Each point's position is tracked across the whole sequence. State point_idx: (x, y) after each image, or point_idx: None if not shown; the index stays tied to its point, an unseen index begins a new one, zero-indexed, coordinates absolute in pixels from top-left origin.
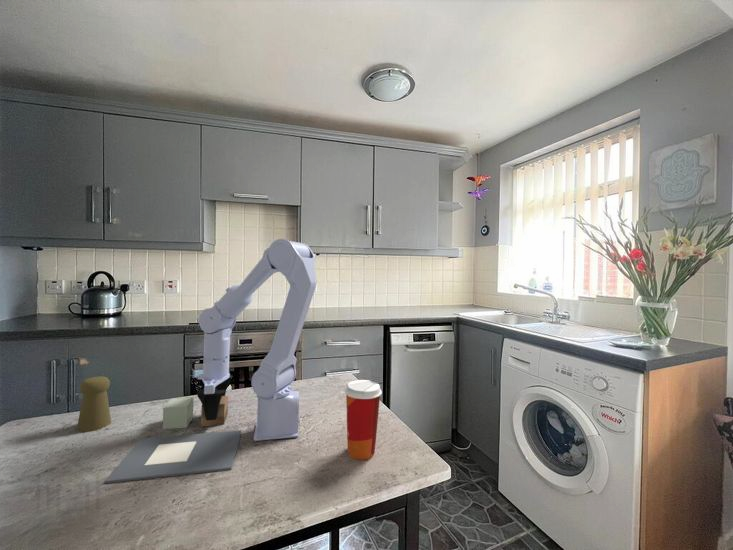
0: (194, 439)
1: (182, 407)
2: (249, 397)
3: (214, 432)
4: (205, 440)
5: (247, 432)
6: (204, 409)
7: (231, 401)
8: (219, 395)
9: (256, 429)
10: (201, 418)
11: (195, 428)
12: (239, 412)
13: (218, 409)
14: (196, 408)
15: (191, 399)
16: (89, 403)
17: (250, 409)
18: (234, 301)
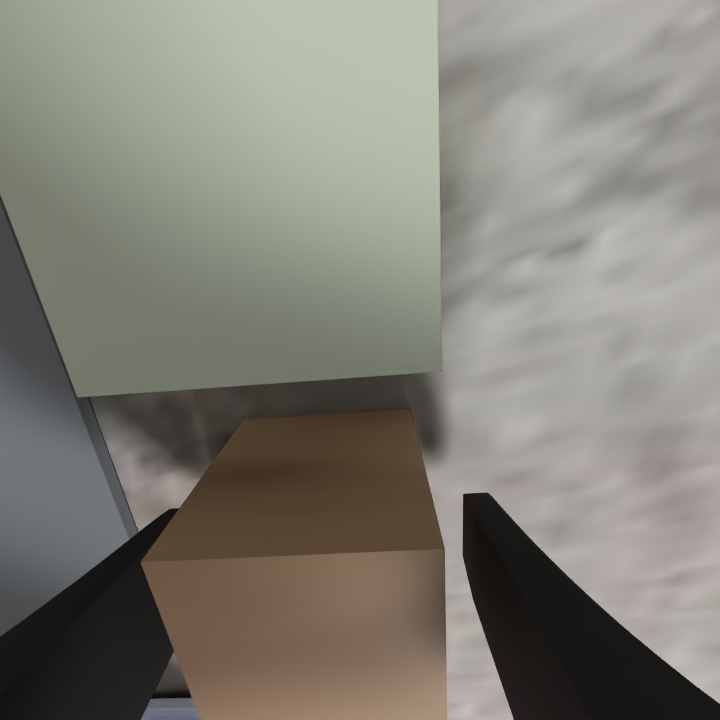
0: (15, 452)
1: (62, 321)
2: (715, 616)
3: (127, 537)
4: (21, 515)
5: (176, 663)
6: (49, 607)
7: (681, 518)
8: None
9: (172, 714)
10: (221, 454)
11: (205, 392)
12: (446, 597)
13: (159, 668)
14: (614, 268)
15: (356, 365)
16: None
17: (482, 644)
18: None
